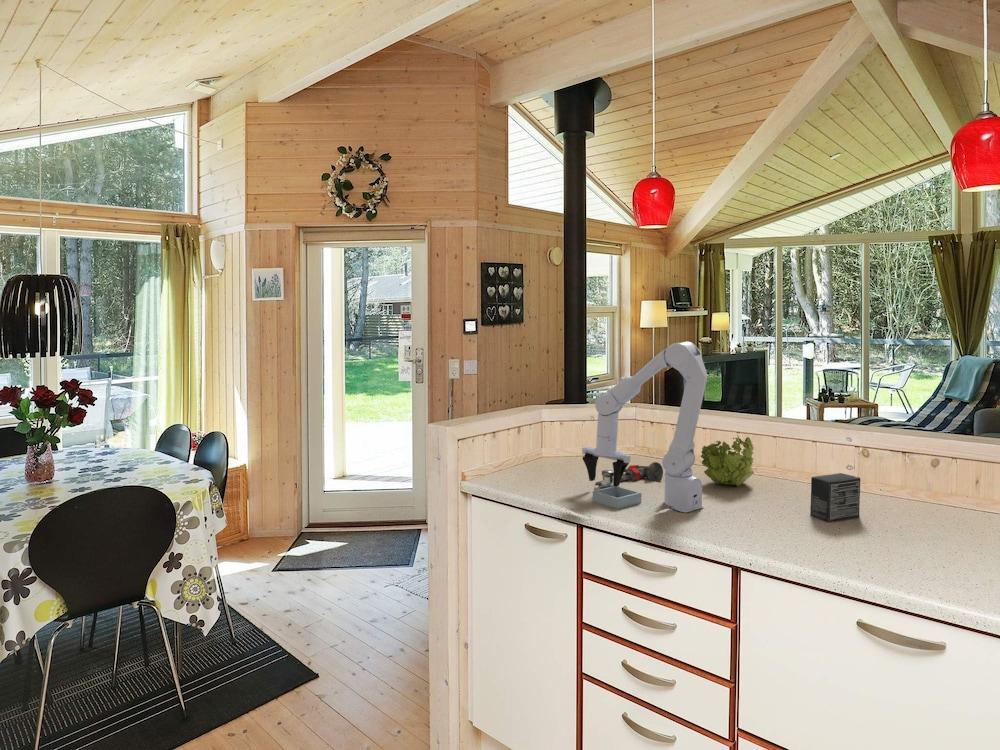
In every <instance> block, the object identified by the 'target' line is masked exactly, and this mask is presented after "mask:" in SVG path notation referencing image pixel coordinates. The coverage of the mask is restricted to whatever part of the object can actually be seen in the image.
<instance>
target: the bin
mask: <svg viewBox="0 0 1000 750" xmlns="http://www.w3.org/2000/svg"><path fill="white" fill-rule="evenodd" d="M592 502H594V503H598V504H601V505H604V506H607V507H611V508H614V509H617V510H619V509H622V508H625V507H630V506H634V505H637V504H641V503H642V492H640V491H636V490H632V489H630V488H626V487H623V486H620V485H619V486H613V487H608V488H604V489H600V490H596V491H594V490H592Z"/></svg>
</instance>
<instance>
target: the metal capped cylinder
mask: <svg viewBox="0 0 1000 750" xmlns="http://www.w3.org/2000/svg"><path fill="white" fill-rule="evenodd" d="M601 476H602V481H603V489H604V488H608V487H613V486H614V484H613V481H614V469H613V470H611V469H604V470H601Z"/></svg>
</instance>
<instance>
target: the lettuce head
mask: <svg viewBox="0 0 1000 750" xmlns="http://www.w3.org/2000/svg"><path fill="white" fill-rule="evenodd" d="M732 439H733V440H735V441H733V442H732V445H731V447H730V445H729V444H728V443H727V442H726V441H724V440H723V441H722V442H721V441H720V440H715V442H713V443H710V444H709V445H707V446H706V445H703V446H702V447H701V455H700V457H701V459H703V460H702V461H701V464H702V466H704V467H706V468H707V469H705V470H704V471H703V473H704V474H705V475H706V476H707V477H708V478H709V479H710V480H711V481H712V482H714V483H715V484H721V485H722V484H723V485H728V486H732V485H733V486H736V487H737V488H738V487H740V486H742V484H744V483H745V482H746V481H747V480H748V479H749V478H751V476H752V475H754V473H755V471H754V468H752V467H753V464H754V458H753V457H752V456H753V454H754V452H753V451H754V449H755V448H754V445H753V442H752V439H751V438H750V437H749V436H747V435H746V438H745V439H744V440H742V439H741V438H740V437H739V435H737V437H732ZM721 444H722V445H721ZM741 446H743V448H742V447H741Z"/></svg>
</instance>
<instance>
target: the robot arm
mask: <svg viewBox="0 0 1000 750" xmlns="http://www.w3.org/2000/svg"><path fill="white" fill-rule="evenodd" d="M702 356H703V354H702V351H701V350H700V349H699V348H698V347H697V346H696V345H695V344H694V343H693V342H690V341H682V342H674V343H671V344H670V345H669V346H667V348H665V349H662V350H661V351H660V352H659V353H658V354H656V355H655V356H654V357H652V359H651V360H650V361H648V362H647V363H646V364H645V365H644V366H643V367H642V368H640V370H639V371H637V372H636V373H635V374H634V375H633V376H630V375H626V376H621V377H619V379H618V383H617V384H615V385H614V386H613V387H612V388H608V389H606V392H607V393H603V394H600V395H599V396H598V397H597V398H596V401H595V409H596V412H597V425H596V427H597V428H596V444H595V447H589V446H583V447H582V448H581V449H582V450H581V454H582V455H584V456H582V461H583V463H584V465H585V467H586V469H587V474H588V479H589V480H588V481H589V482H592V481H596V476H597V465H598V460H599V458H602V459H609V460H612V461H613V462H612V467H613V471H614V481H613V484H614V486H619V487H620V484H621V482H622V481H621V478H622V475H623V474H625V472H624V471H625V469H627V468H628V467H629V464H630V463H631V454H626V453H623V452H619V451H617V446H618V431H619V429H618V428H619V427H618V425H619V413H620V411H621V410H622V409H623V407H624V406H625V405H626V404H627V403H628V402H630V401H631V400H632V399H634V398H635V397H636V396H637V395H638V394H640V393H641V388H642V387H641V386H642V385H643V384H644V383H646V382H647V381H649V380H650V379H651V378H652V377H653V376H655V375H657V373H658V372H660V371H661V370H663V369H665V368H669V367H672V368H673V369H675V370H676V371H678V372H679V374H680V375H681V376H682V377H683V378H684V380H685V384H684V385H685V386H684V390H683V395H682V399H681V404H680V407H679V413H678V416H677V421H676V425H675V432H674V434H673V438H672V440H671V443H670V444H669V446H668V447H669V448H668V451H667V453H666V454H664V456H663V457H662V462H661V463H662V469H664V494H663V495H664V496H663V497H664V498H663V499H664V501H663V502H664V505H666V506H669V507H668V509H672V510H675V511H679V512H681V513H690V512H693V511H696V510H700V509H703V508H704V505H703V483H702V481H701V479H700V478H699V477H696V476H695V475H693V474H694V473H693V469H692V468H691V467H693V465H694V464H695V462H696V455H695V447H696V446H695V442H694V439H695V435H696V429H697V425H698V422H699V418H700V417H699V416H700V412H701V408H702V403H703V399H704V395H705V390H706V386H707V382H708V373H707V369H706V366H705V362H704V359H703V357H702Z"/></svg>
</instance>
